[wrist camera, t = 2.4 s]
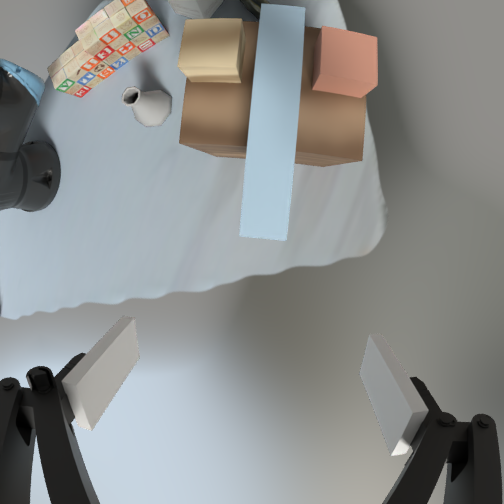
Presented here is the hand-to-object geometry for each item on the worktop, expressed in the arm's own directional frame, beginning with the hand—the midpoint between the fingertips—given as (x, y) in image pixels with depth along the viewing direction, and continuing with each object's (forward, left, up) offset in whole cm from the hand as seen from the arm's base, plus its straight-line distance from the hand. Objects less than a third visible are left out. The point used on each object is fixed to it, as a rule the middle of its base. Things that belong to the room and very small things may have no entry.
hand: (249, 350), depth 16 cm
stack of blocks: (-44, -2, -38) cm, 58 cm away
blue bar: (-11, +10, -15) cm, 21 cm away
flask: (-29, -3, -38) cm, 48 cm away
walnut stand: (-14, +12, -37) cm, 42 cm away
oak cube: (-20, +9, -15) cm, 26 cm away
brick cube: (-12, +18, -15) cm, 27 cm away
